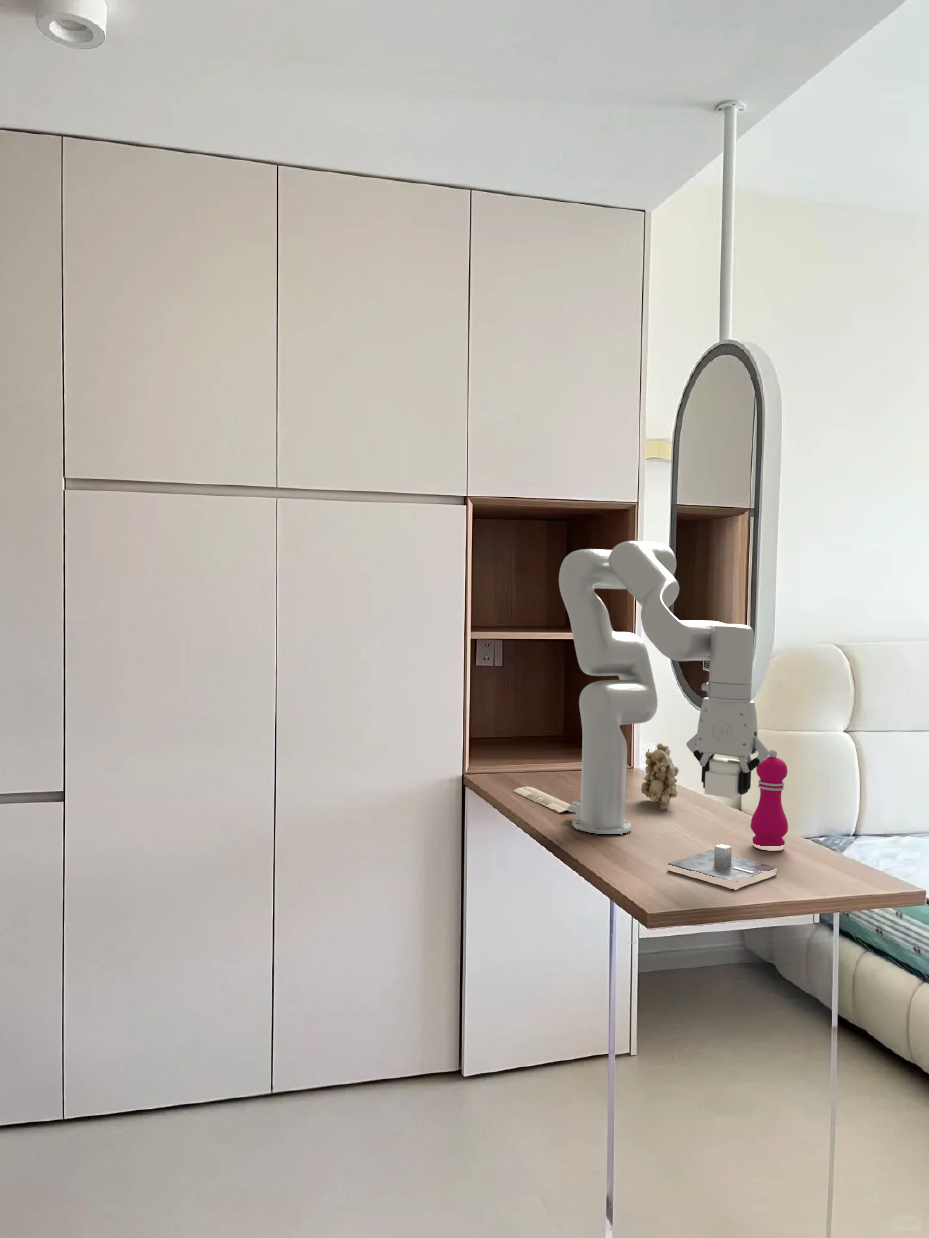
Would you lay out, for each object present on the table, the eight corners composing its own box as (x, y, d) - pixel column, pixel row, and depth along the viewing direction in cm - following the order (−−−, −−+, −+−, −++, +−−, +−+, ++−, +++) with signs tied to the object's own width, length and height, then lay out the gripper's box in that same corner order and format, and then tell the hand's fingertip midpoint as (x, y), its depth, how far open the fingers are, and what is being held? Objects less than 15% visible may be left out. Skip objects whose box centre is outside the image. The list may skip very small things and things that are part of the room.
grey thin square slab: (667, 870, 179) (668, 844, 179) (710, 857, 189) (711, 832, 189) (734, 890, 169) (736, 862, 169) (776, 875, 179) (778, 848, 178)
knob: (703, 793, 178) (704, 759, 177) (715, 788, 183) (717, 755, 182) (735, 799, 174) (736, 764, 174) (746, 793, 179) (748, 759, 179)
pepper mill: (758, 840, 203) (762, 745, 202) (792, 847, 198) (797, 749, 197) (743, 847, 197) (748, 749, 196) (778, 854, 192) (783, 754, 192)
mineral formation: (669, 799, 238) (671, 738, 238) (686, 813, 225) (689, 748, 224) (636, 799, 238) (639, 737, 237) (652, 812, 224) (655, 747, 224)
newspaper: (583, 815, 223) (583, 807, 222) (555, 818, 220) (555, 810, 220) (534, 792, 244) (534, 785, 244) (509, 794, 241) (509, 787, 241)
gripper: (676, 689, 180) (672, 786, 180) (769, 698, 169) (765, 801, 170) (693, 686, 186) (689, 780, 187) (783, 695, 176) (779, 794, 176)
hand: (725, 789), depth 178 cm, fingers closed on knob, 6 cm apart
